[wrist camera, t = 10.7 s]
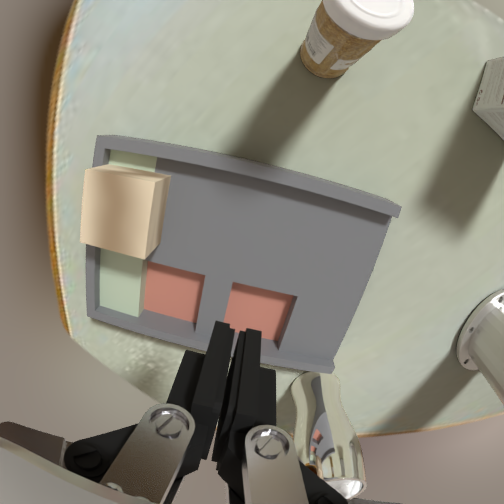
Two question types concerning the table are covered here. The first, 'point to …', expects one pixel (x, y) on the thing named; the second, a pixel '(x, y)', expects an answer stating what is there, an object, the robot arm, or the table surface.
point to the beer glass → (327, 434)
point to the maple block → (123, 209)
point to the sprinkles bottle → (350, 32)
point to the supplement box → (492, 96)
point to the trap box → (241, 255)
